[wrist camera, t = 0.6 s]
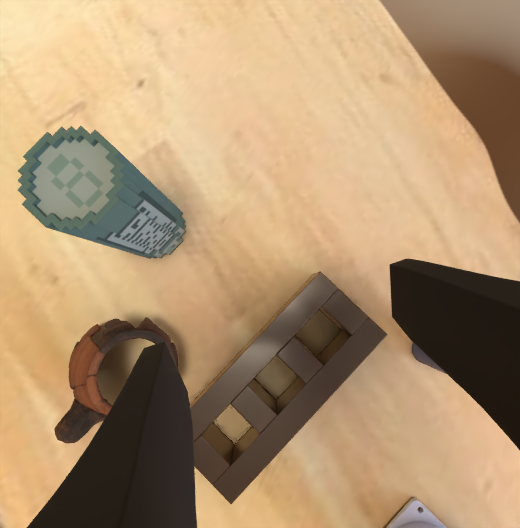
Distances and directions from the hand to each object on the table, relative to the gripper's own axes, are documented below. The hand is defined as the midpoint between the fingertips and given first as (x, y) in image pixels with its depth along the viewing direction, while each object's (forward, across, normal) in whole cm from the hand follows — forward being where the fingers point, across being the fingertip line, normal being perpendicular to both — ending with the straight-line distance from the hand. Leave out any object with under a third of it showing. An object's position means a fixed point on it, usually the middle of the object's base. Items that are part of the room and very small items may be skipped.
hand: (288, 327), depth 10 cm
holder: (+16, -1, +18) cm, 24 cm away
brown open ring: (+21, +13, +15) cm, 29 cm away
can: (+27, +6, +4) cm, 28 cm away
